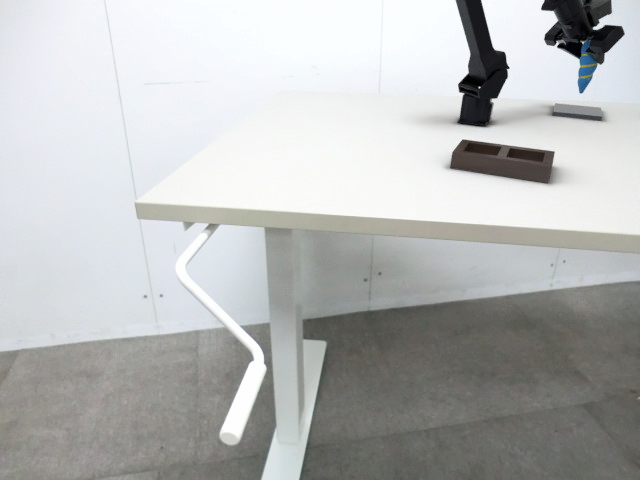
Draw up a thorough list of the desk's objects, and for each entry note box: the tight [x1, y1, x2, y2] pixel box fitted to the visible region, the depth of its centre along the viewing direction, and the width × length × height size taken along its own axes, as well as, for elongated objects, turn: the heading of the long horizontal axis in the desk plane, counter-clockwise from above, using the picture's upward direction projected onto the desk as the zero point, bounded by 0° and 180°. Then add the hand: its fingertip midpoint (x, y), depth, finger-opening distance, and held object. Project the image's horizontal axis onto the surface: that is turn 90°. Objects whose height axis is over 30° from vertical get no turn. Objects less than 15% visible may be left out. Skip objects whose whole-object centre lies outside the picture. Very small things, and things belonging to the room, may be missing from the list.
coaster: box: [552, 102, 603, 122], centre depth 123 cm, size 11×11×1 cm
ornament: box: [577, 40, 599, 95], centre depth 118 cm, size 5×5×15 cm
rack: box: [449, 138, 556, 184], centre depth 85 cm, size 9×16×3 cm, turn 64°
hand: (593, 61), depth 118 cm, fingers closed on ornament, 5 cm apart
